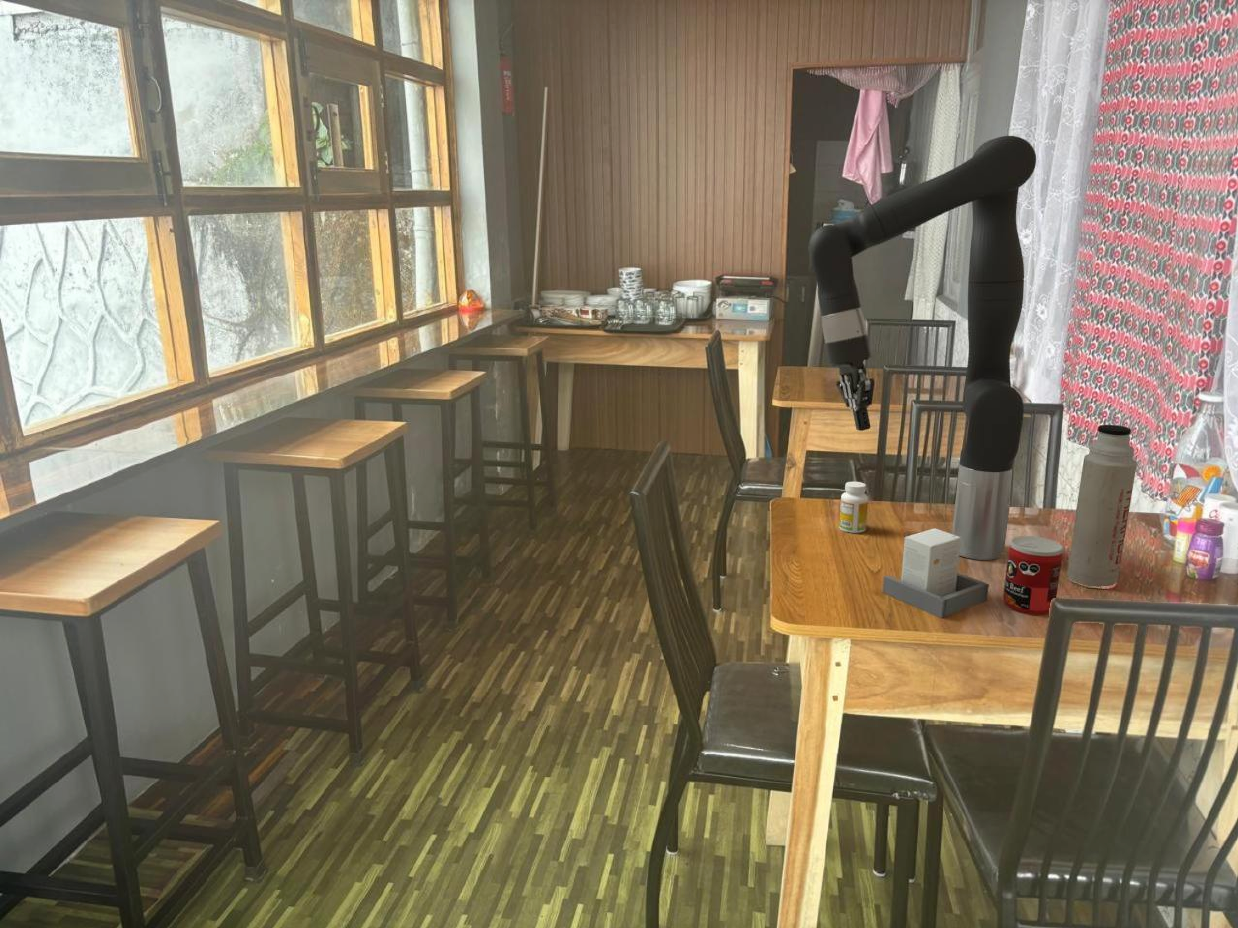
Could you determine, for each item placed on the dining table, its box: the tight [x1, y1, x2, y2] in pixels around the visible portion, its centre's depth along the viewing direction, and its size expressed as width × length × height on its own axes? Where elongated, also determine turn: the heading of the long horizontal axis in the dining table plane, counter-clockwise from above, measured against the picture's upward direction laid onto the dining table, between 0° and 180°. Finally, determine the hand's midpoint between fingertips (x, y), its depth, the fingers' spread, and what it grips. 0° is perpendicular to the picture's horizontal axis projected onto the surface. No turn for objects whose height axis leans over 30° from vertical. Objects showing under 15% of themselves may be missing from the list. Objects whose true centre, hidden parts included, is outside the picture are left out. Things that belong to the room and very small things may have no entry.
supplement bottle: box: [838, 481, 869, 534], centre depth 184 cm, size 5×5×10 cm
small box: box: [900, 527, 961, 597], centre depth 153 cm, size 8×6×10 cm
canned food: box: [1002, 535, 1064, 616], centre depth 148 cm, size 8×8×11 cm
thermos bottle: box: [1066, 424, 1138, 587], centre depth 156 cm, size 8×8×28 cm
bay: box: [881, 572, 990, 619], centre depth 153 cm, size 12×12×3 cm
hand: (863, 429), depth 165 cm, fingers closed
